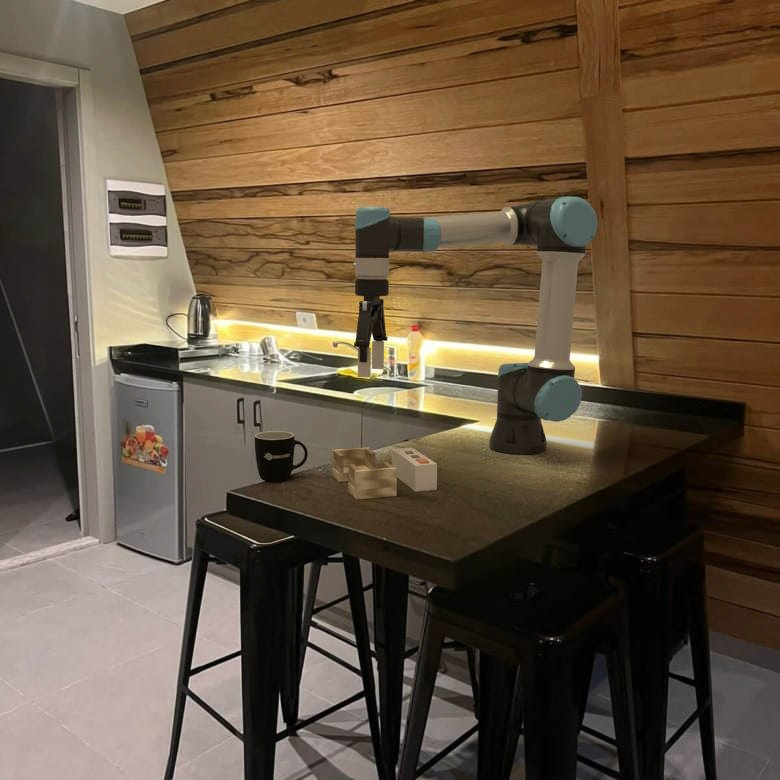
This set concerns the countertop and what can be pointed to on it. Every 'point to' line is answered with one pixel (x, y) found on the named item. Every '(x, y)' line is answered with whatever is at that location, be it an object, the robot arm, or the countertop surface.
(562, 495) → the countertop surface
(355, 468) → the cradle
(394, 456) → the power strip
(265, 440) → the mug
